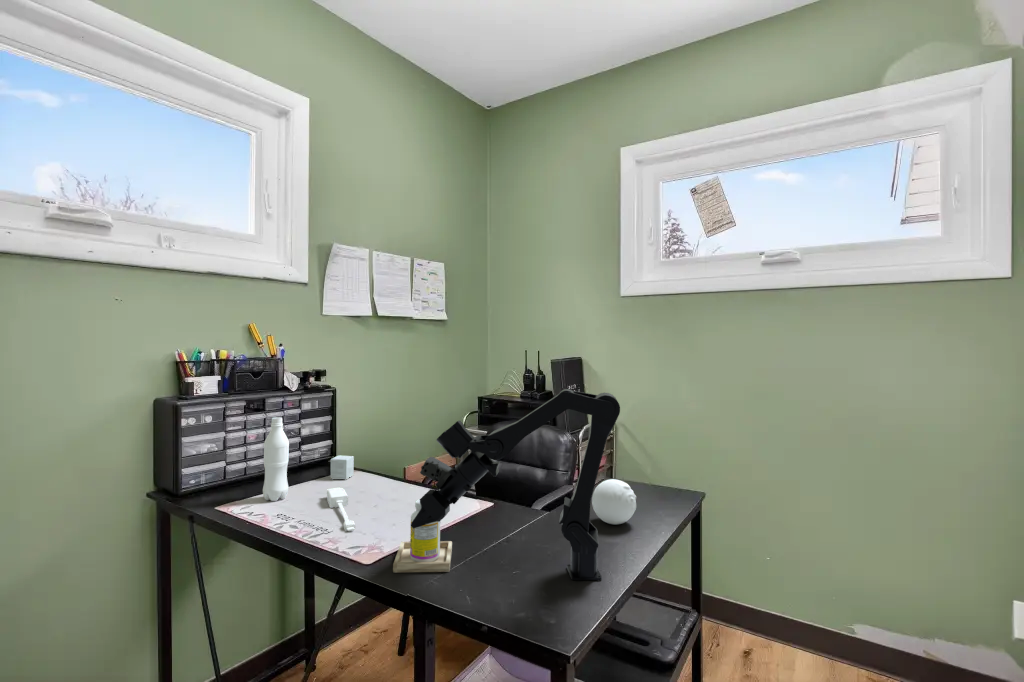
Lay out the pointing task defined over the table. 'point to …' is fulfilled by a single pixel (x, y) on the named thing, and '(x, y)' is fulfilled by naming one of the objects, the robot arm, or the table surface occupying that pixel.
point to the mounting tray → (408, 565)
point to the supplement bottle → (424, 540)
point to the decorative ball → (614, 501)
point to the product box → (342, 467)
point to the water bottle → (276, 462)
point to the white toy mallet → (340, 505)
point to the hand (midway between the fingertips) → (419, 519)
